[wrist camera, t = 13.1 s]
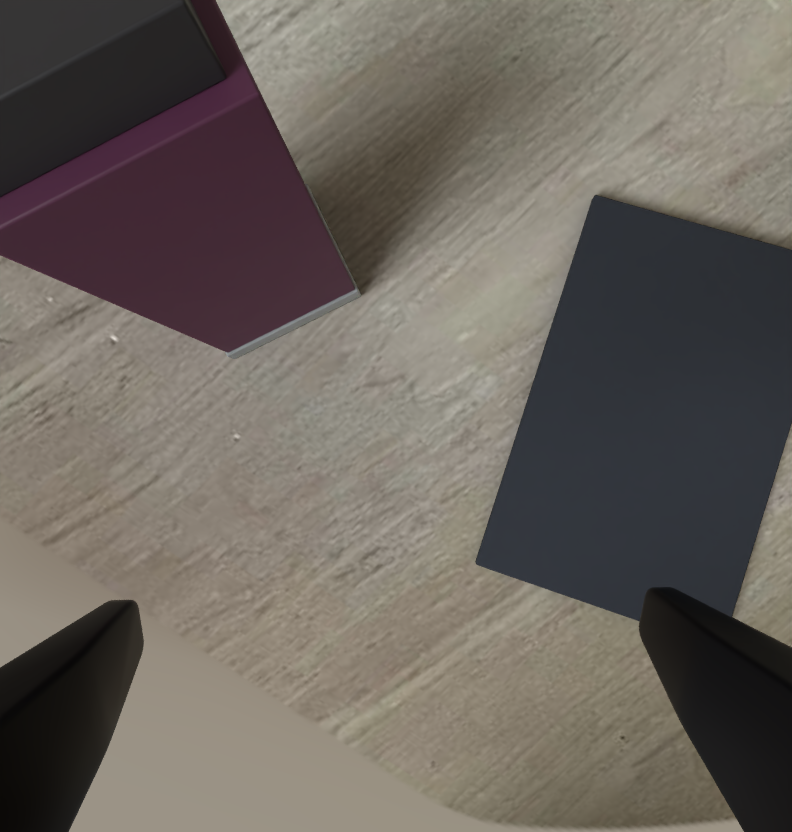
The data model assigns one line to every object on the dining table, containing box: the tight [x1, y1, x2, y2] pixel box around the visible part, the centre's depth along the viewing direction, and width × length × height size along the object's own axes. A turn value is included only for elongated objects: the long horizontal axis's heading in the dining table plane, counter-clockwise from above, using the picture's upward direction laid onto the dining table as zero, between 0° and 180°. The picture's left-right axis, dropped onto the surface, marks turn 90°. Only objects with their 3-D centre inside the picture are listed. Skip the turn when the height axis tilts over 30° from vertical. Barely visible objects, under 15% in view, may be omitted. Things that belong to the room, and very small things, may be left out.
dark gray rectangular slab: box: [476, 195, 792, 621], centre depth 20 cm, size 16×10×1 cm, turn 162°
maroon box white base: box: [0, 0, 361, 359], centre depth 14 cm, size 5×6×14 cm
